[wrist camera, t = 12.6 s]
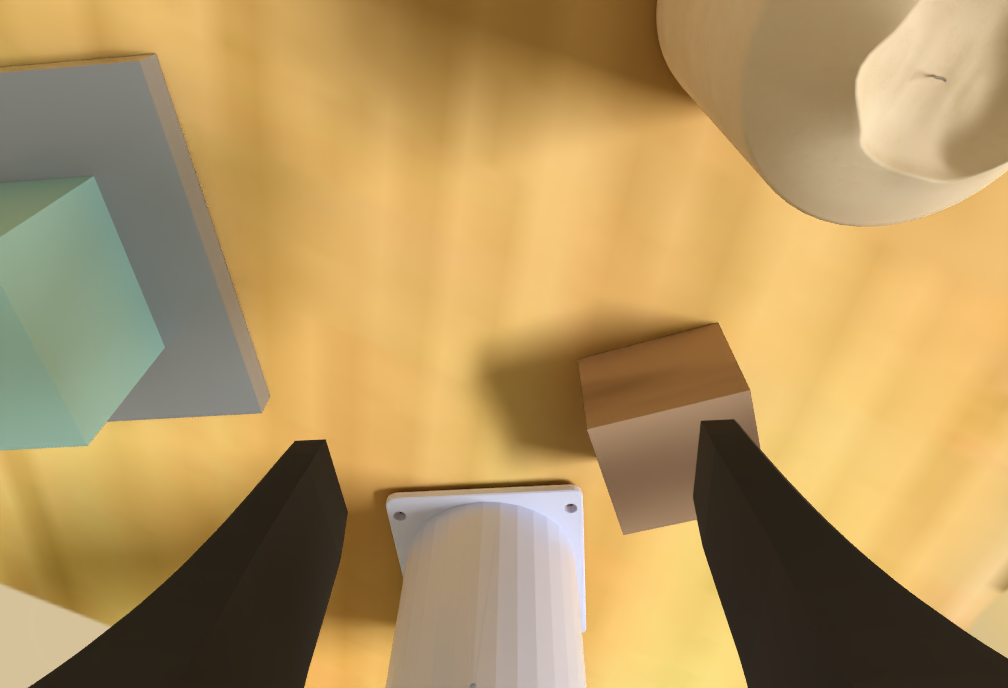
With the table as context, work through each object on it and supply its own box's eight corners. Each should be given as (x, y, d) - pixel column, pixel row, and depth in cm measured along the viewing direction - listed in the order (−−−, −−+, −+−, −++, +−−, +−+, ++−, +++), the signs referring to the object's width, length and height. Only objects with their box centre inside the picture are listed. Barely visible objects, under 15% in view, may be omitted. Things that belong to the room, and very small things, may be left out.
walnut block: (737, 426, 26) (770, 504, 23) (610, 456, 27) (623, 534, 24) (717, 320, 24) (749, 390, 20) (577, 357, 25) (587, 429, 21)
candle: (621, 72, 19) (702, 207, 11) (711, -160, 16) (917, -223, 8) (796, 133, 20) (995, 301, 12) (911, -78, 17) (1287, -56, 9)
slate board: (270, 396, 26) (261, 413, 25) (39, 409, 26) (23, 426, 25) (156, 54, 19) (139, 60, 18) (-149, 79, 20) (-178, 88, 19)
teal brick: (164, 347, 23) (87, 446, 19) (52, 354, 23) (-50, 452, 19) (93, 176, 20) (-19, 249, 16) (-37, 185, 20) (-182, 260, 16)
